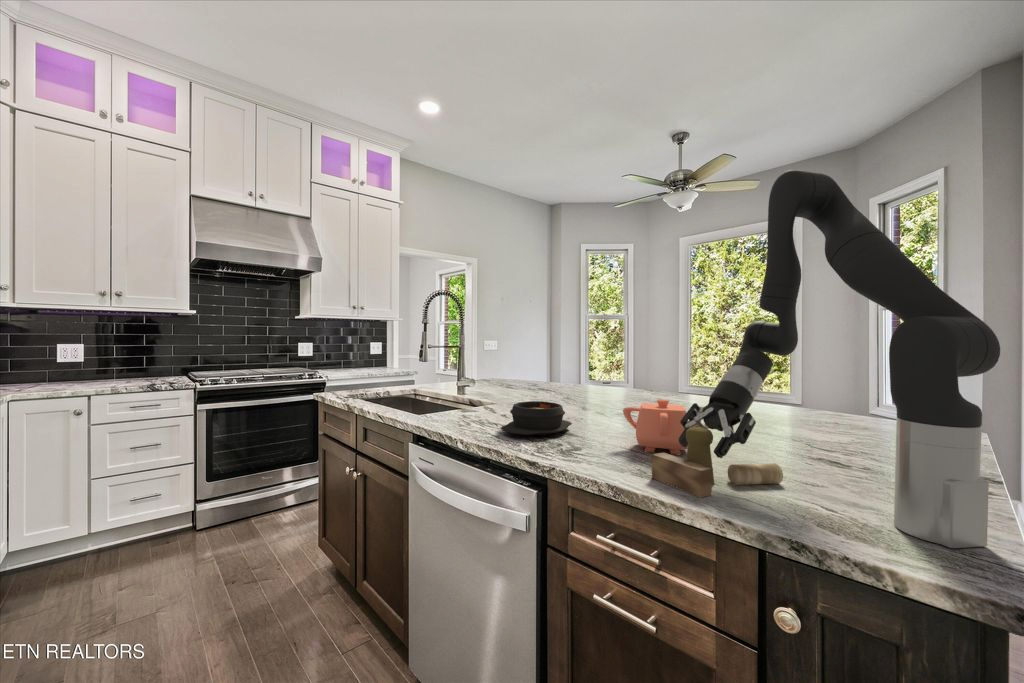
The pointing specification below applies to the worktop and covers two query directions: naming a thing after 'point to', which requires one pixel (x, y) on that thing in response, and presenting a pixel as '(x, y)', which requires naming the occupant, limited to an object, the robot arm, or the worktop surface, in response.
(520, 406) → the casserole
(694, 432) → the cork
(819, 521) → the worktop surface
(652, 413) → the teapot
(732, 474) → the roller
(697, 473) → the block
